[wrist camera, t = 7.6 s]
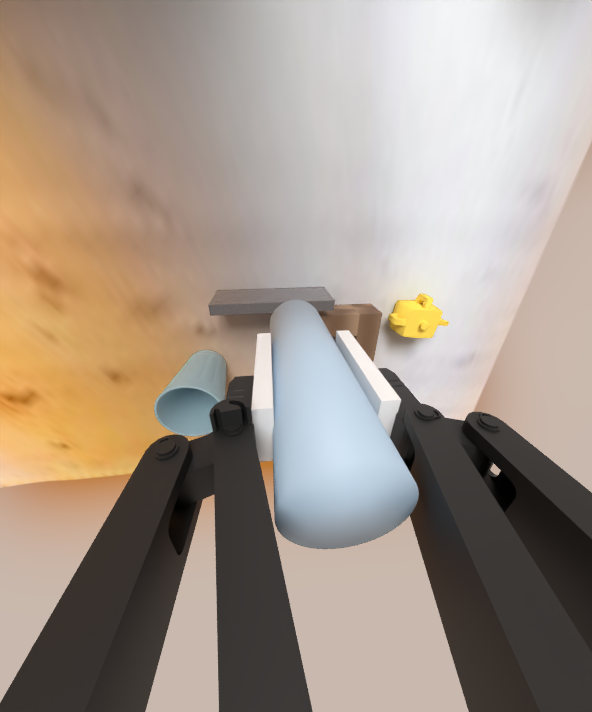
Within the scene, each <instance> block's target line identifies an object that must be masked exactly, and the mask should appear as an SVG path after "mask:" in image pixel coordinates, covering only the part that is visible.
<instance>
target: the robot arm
mask: <svg viewBox="0 0 592 712" xmlns="http://www.w3.org/2000/svg"><path fill="white" fill-rule="evenodd" d="M335 343H336V345H337V346H338V348H339V350H340V351H341V353H342V355H343V357H344V358H345V360H346V362H347V364H348V365H349V367H350V369H351V371H352V372H353V374H354V376H355V378H356V379H357V381H358V383H359V385H360V386H361V388H362V390H363V392H364V393H365V395H366V397H367V398H368V400H369V402H370V404H371V405H372V407H373V409H374V411H375V412H376V414H377V416H378V418H379V419H380V421H381V423H382V425H383V426H384V428H385V430H386V432H387V433H388V435H389V437H390V439H391V440H392V442H393V444H394V445H395V447H396V449H397V451H398V452H399V454H400V456H401V458H402V459H403V461H404V463H405V465H406V466H407V468H408V470H409V472H410V473H411V475H412V477H413V479H414V480H415V482H416V484H417V487H418V491H419V496H418V501H417V504H416V506H415V508H414V510H413V511H412V513H411V514H410V517H411V520H412V524H413V527H414V530H415V534H416V537H417V540H418V544H419V547H420V550H421V554H422V557H423V560H424V564H425V567H426V570H427V574H428V577H429V580H430V584H431V587H432V590H433V594H434V597H435V600H436V603H437V607H438V610H439V614H440V617H441V620H442V624H443V627H444V630H445V634H446V637H447V640H448V644H449V647H450V650H451V654H452V657H453V660H454V663H455V667H456V670H457V674H458V677H459V680H460V684H461V687H462V690H463V694H464V697H465V700H466V704H467V707H468V710H469V712H592V493H591V492H590V491H589V490H588V489H586V488H585V487H584V486H583V485H581V484H580V483H579V482H578V481H576V480H575V479H574V478H572V477H571V476H570V475H569V474H568V473H566V472H565V471H564V470H563V469H561V468H560V467H559V466H558V465H556V464H555V463H554V462H553V461H551V460H550V459H549V458H548V457H547V456H545V455H544V454H543V453H542V452H540V451H539V450H538V449H537V448H535V447H534V446H533V445H532V444H530V443H529V442H528V441H527V440H525V439H524V438H523V437H522V436H520V435H519V434H518V433H517V432H516V431H514V430H513V429H512V428H510V427H509V426H508V425H507V424H506V423H504V422H503V421H501V420H500V419H498V418H497V417H494V416H492V415H490V414H487V413H482V412H472V413H469V414H468V415H467V417H466V419H465V421H462V420H455V419H449V418H444V416H443V415H442V414H441V413H440V412H439V411H438V410H437V409H435V408H433V407H431V406H429V405H426V404H421V403H420V402H419V401H418V400H417V399H416V398H415V397H414V395H413V394H412V393H411V392H410V391H409V389H408V388H407V387H406V386H405V385H404V384H403V382H402V381H400V379H399V378H398V376H397V375H396V374H395V373H393V372H392V371H390V370H389V369H387V368H380V369H378V368H377V367H376V366H375V364H374V363H373V362H372V360H371V359H370V358H369V356H368V355H367V354H366V352H365V351H364V350H363V349H362V347H361V346H360V345H359V343H358V342H357V341H356V339H355V338H354V337H353V335H352V334H351V333H350V331H349V330H344V331H336V341H335ZM209 416H210V420H211V425H212V430H213V432H211V433H209V434H208V435H206V436H203V437H201V438H198V439H194V440H191V441H188V439H187V438H186V437H184V436H182V435H175V434H174V435H169V436H165V437H163V438H161V439H158V440H157V441H155V442H154V443H153V444H151V445H150V447H149V448H148V449H147V450H146V451H145V453H144V455H143V457H142V458H141V460H140V462H139V464H138V465H137V467H136V469H135V471H134V472H133V474H132V476H131V478H130V479H129V481H128V483H127V485H126V486H125V488H124V490H123V491H122V493H121V495H120V497H119V498H118V500H117V502H116V503H115V505H114V507H113V509H112V510H111V512H110V514H109V516H108V517H107V519H106V521H105V523H104V524H103V526H102V528H101V529H100V532H99V533H98V535H97V536H96V538H95V540H94V542H93V543H92V545H91V547H90V549H89V550H88V552H87V554H86V555H85V557H84V559H83V561H82V562H81V564H80V566H79V568H78V569H77V571H76V573H75V574H74V576H73V578H72V580H71V581H70V584H69V585H68V587H67V588H66V590H65V592H64V593H63V595H62V597H61V599H60V600H59V602H58V604H57V606H56V607H55V609H54V611H53V613H52V614H51V616H50V618H49V619H48V621H47V623H46V625H45V626H44V628H43V630H42V632H41V633H40V635H39V637H38V639H37V640H36V642H35V644H34V645H33V647H32V649H31V651H30V652H29V654H28V656H27V658H26V659H25V661H24V663H23V664H22V666H21V668H20V670H19V671H18V673H17V675H16V677H15V678H14V680H13V682H12V684H11V685H10V687H9V689H8V690H7V692H6V694H5V696H4V697H3V699H2V701H1V703H0V712H145V710H146V706H147V703H148V699H149V695H150V692H151V688H152V685H153V680H154V677H155V673H156V670H157V666H158V662H159V659H160V655H161V651H162V648H163V644H164V640H165V636H166V633H167V629H168V626H169V622H170V618H171V615H172V611H173V607H174V603H175V600H176V596H177V592H178V589H179V585H180V581H181V577H182V574H183V570H184V566H185V563H186V559H187V556H188V552H189V548H190V544H191V541H192V537H193V533H194V530H195V526H196V522H197V519H198V515H199V511H200V508H201V504H202V500H203V499H204V498H206V497H209V496H211V495H213V494H215V540H216V585H217V629H218V630H217V632H218V680H219V712H312V707H311V702H310V698H309V693H308V688H307V684H306V679H305V674H304V669H303V665H302V660H301V655H300V650H299V646H298V641H297V636H296V632H295V627H294V622H293V617H292V613H291V608H290V603H289V598H288V594H287V589H286V585H285V580H284V575H283V570H282V566H281V561H280V556H279V551H278V547H277V542H276V537H275V532H274V528H273V523H272V518H271V513H270V509H269V504H268V499H267V495H266V490H265V485H264V480H263V476H262V471H261V466H260V462H262V461H273V438H272V435H273V427H274V409H273V382H272V355H271V333H261V334H257V346H256V358H255V370H254V376H240V377H235V378H234V379H233V380H232V381H231V382H230V383H229V387H228V392H227V396H226V400H222V401H220V402H219V403H217V404H215V405H214V406H213V407H212V409H211V410H210V414H209ZM493 463H494V464H495V465H496V466H497V467H498V468H499V469H500V470H501V472H500V473H499V475H498V476H497V475H495V474H494V473H492V472H491V471H490V468H491V467H492V465H493Z"/></svg>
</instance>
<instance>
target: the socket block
mask: <svg viewBox="0 0 592 712" xmlns="http://www.w3.org/2000/svg"><path fill="white" fill-rule="evenodd" d="M317 312H318V313H319V315H320V317H321V318H322V320H323V322H324V324H325V325H326V327H327V329H328V331H329V332H330V334H331V336H332V337H336V331H344V330H349V331H350V333H351V334H352V335H353V337H354V338H355V339H356V341H357V342H358V343H359V345H360V346H361V347H362V349H363V350H364V351H365V352H366V354H367V355H368V356H369V358H370V359H371V360H372V362H373V360H374V355H375V350H376V344H377V339H378V333H379V328H380V323H381V317H382V313H381V312H380V311H379V310H377V309H376V308H375V307H374V306H373V305H372V304H351V305H334V311H317Z"/></svg>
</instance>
